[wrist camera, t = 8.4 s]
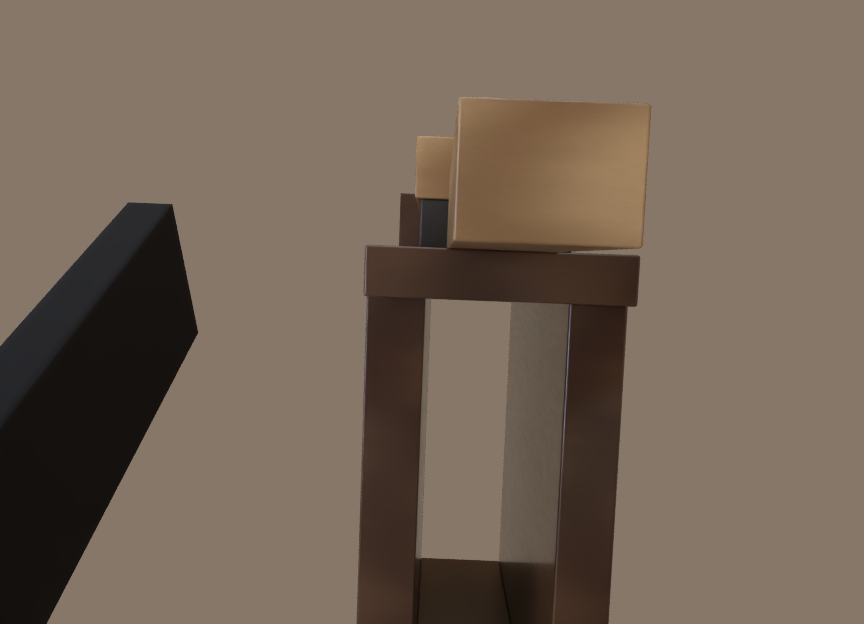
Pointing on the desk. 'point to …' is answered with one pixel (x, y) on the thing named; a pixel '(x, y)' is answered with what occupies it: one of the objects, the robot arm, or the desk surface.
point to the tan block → (536, 176)
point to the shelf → (524, 433)
